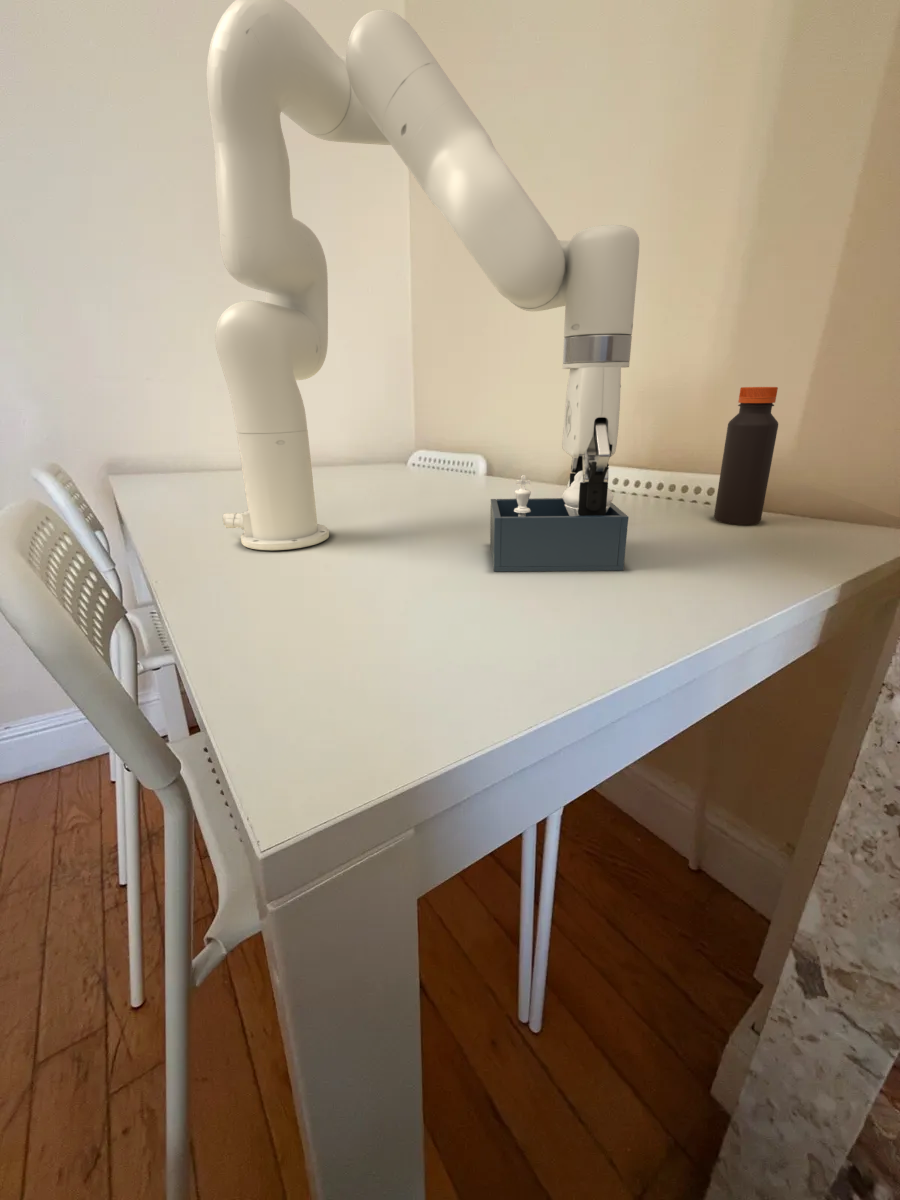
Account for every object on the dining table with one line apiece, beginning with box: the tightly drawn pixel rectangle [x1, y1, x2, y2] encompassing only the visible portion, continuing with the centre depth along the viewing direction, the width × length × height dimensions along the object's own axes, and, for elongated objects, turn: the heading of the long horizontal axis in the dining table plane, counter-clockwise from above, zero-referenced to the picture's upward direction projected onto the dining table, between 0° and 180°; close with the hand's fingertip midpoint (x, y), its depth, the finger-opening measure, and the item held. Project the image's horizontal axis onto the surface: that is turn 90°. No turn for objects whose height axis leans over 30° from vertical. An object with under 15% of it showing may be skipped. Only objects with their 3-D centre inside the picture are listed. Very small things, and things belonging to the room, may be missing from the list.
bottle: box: [713, 386, 779, 526], centre depth 87 cm, size 7×7×20 cm
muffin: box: [562, 468, 614, 516], centre depth 71 cm, size 6×6×7 cm
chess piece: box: [514, 474, 532, 517], centre depth 72 cm, size 5×5×10 cm
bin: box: [489, 497, 630, 572], centre depth 73 cm, size 16×12×7 cm
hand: (586, 508), depth 72 cm, fingers closed on muffin, 6 cm apart
